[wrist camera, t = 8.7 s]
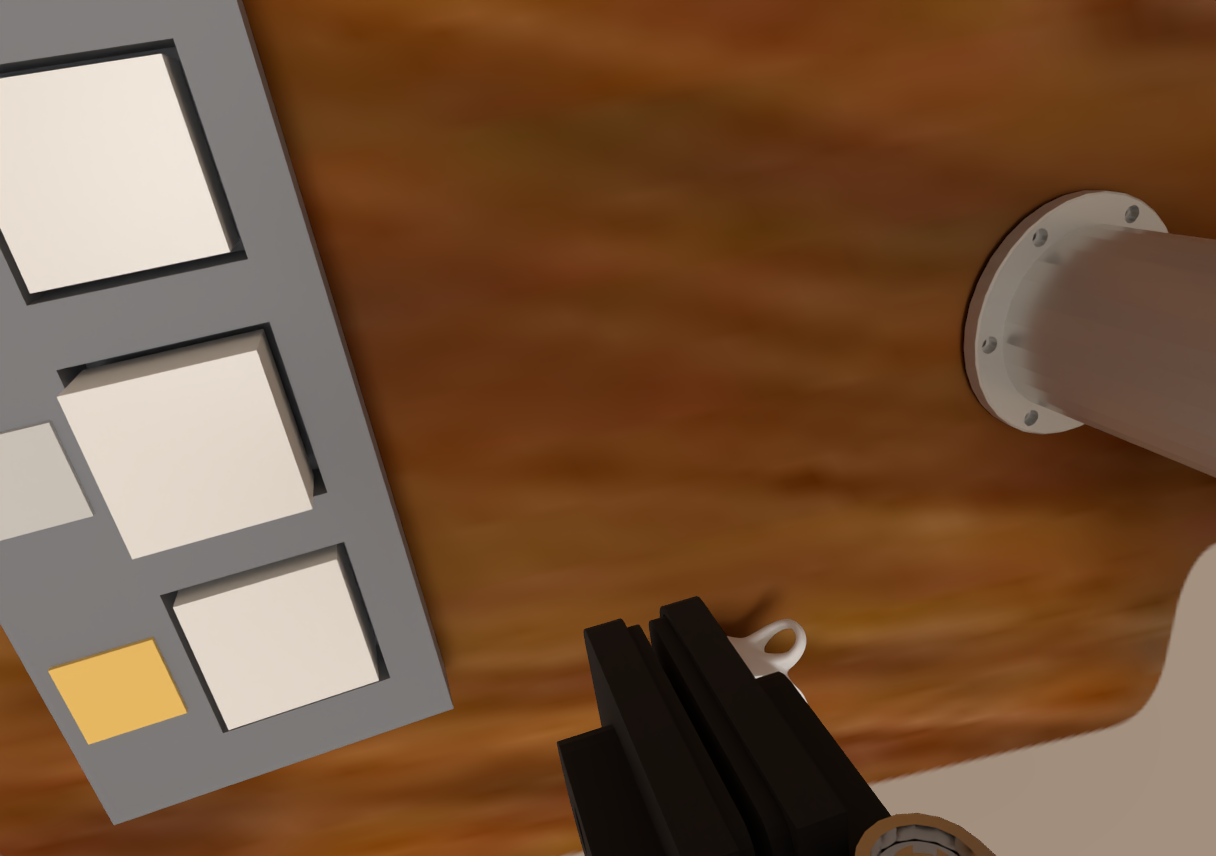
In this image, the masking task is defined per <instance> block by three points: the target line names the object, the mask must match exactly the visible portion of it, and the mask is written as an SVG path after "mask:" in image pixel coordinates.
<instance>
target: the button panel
mask: <svg viewBox="0 0 1216 856" xmlns="http://www.w3.org/2000/svg"><path fill="white" fill-rule="evenodd" d="M155 54H164V55H166V56H169V57H172V58H175V59H177V60H178V62H179V65H180V68H181V70H182V73H183V76H184V79H185V82H186V85H187V88H188V91H189V94H190V97H191V100H192V103H193V106H194V109H195V112H196V114H197V117H198V120H199V123H200V126H201V129H202V132H203V135H204V138H205V141H206V144H207V147H208V150H209V153H210V156H211V158H212V161H213V164H214V167H215V170H216V173H217V176H218V179H219V182H220V185H221V188H222V191H223V194H224V197H225V200H226V202H227V205H228V208H229V211H230V214H231V217H232V220H233V223H234V226H235V229H236V232H237V235H238V238H239V241H238V242H237V243H236V245H235V246H234V248H233V249H232V250H231V252H228V253H224V254H219V255H214V256H209V257H204V258H199V259H195V260H190V261H185V262H180V263H175V264H171V265H166V266H161V267H156V268H151V269H146V270H142V271H137V272H132V273H127V274H122V275H118V276H113V277H108V278H103V279H98V280H93V281H89V282H84V283H79V284H74V285H69V286H65V287H60V288H55V289H50V290H45V291H40V292H36V293H31V294H30V292H29V290H28V288H27V286H26V284H25V281H24V279H23V277H22V275H21V273H20V270H19V268H18V266H17V264H16V262H15V259H14V257H13V255H12V253H11V251H10V248H9V246H8V244H7V242H6V240H5V237H4V235H3V233H2V231H1V229H0V624H1V626H2V627H3V629H4V631H5V633H6V634H7V636H8V638H9V640H10V642H11V643H12V645H13V647H14V649H15V650H16V652H17V654H18V656H19V658H20V659H21V661H22V663H23V665H24V666H25V668H26V670H27V672H28V674H29V675H30V677H31V679H32V681H33V682H34V684H35V686H36V688H37V690H38V691H39V693H40V695H41V697H42V698H43V700H44V702H45V704H46V705H47V707H48V709H49V711H50V713H51V714H52V716H53V718H54V720H55V721H56V723H57V725H58V727H59V729H60V730H61V732H62V734H63V736H64V737H65V739H66V741H67V743H68V745H69V746H70V748H71V750H72V752H73V753H74V755H75V757H76V759H77V761H78V762H79V764H80V766H81V768H82V769H83V771H84V773H85V775H86V777H87V778H88V780H89V782H90V784H91V785H92V787H93V789H94V791H95V793H96V794H97V796H98V798H99V800H100V801H101V803H102V805H103V807H104V809H105V810H106V812H107V814H108V816H109V817H110V819H111V821H112V823H113V825H116V824H119V823H122V822H125V821H128V820H130V819H133V818H136V817H139V816H142V815H145V814H148V813H151V812H154V811H157V810H160V809H163V808H165V807H168V806H171V805H174V804H177V803H180V802H183V801H186V800H189V799H192V798H195V797H197V796H200V795H203V794H206V793H209V792H212V791H215V790H218V789H221V788H224V787H227V786H229V785H232V784H235V783H238V782H241V781H244V780H247V779H250V778H253V777H256V776H259V775H261V774H264V773H267V772H270V771H273V770H276V769H279V768H282V767H285V766H288V765H291V764H293V763H296V762H299V761H302V760H305V759H308V758H311V757H314V756H317V755H320V754H323V753H325V752H328V751H331V750H334V749H337V748H340V747H343V746H346V745H349V744H352V743H355V742H357V741H360V740H363V739H366V738H369V737H372V736H375V735H378V734H381V733H384V732H387V731H389V730H392V729H395V728H398V727H401V726H404V725H407V724H410V723H413V722H416V721H419V720H421V719H424V718H427V717H430V716H433V715H436V714H439V713H442V712H445V711H448V710H451V709H453V704H452V699H451V694H450V689H449V684H448V680H447V675H446V670H445V666H444V663H443V659H442V656H441V653H440V649H439V646H438V643H437V640H436V636H435V633H434V630H433V626H432V623H431V620H430V617H429V613H428V610H427V607H426V603H425V600H424V597H423V594H422V590H421V587H420V584H419V580H418V577H417V574H416V570H415V567H414V564H413V561H412V557H411V554H410V551H409V547H408V544H407V541H406V538H405V534H404V531H403V528H402V524H401V521H400V518H399V515H398V511H397V508H396V505H395V501H394V498H393V495H392V491H391V488H390V485H389V482H388V478H387V475H386V472H385V468H384V465H383V462H382V459H381V455H380V452H379V449H378V445H377V442H376V439H375V436H374V432H373V429H372V426H371V422H370V419H369V416H368V412H367V409H366V406H365V403H364V399H363V396H362V393H361V389H360V386H359V383H358V380H357V376H356V373H355V370H354V366H353V363H352V360H351V357H350V353H349V350H348V347H347V343H346V340H345V337H344V333H343V330H342V327H341V324H340V320H339V317H338V314H337V310H336V307H335V304H334V301H333V297H332V294H331V291H330V287H329V284H328V281H327V278H326V274H325V271H324V268H323V264H322V261H321V258H320V254H319V251H318V248H317V245H316V241H315V238H314V235H313V231H312V228H311V225H310V222H309V218H308V215H307V212H306V208H305V205H304V202H303V199H302V195H301V192H300V189H299V185H298V182H297V179H296V175H295V172H294V169H293V166H292V162H291V159H290V156H289V152H288V149H287V146H286V143H285V139H284V136H283V133H282V129H281V126H280V123H279V120H278V116H277V113H276V110H275V106H274V103H273V100H272V96H271V93H270V90H269V87H268V83H267V80H266V77H265V73H264V70H263V67H262V64H261V60H260V57H259V54H258V50H257V47H256V44H255V41H254V37H253V34H252V31H251V27H250V24H249V21H248V17H247V14H246V11H245V8H244V4H243V1H242V0H0V78H6V77H13V76H19V75H26V74H32V73H39V72H45V71H52V70H58V69H65V68H71V67H77V66H84V65H90V64H97V63H103V62H110V61H116V60H123V59H129V58H136V57H142V56H149V55H155ZM260 329H264V332H265V335H266V338H267V341H268V344H269V347H270V350H271V352H272V355H273V358H274V361H275V364H276V367H277V370H278V373H279V376H280V379H281V382H282V384H283V387H284V390H285V393H286V396H287V399H288V402H289V405H290V408H291V411H292V413H293V416H294V419H295V422H296V425H297V428H298V431H299V434H300V437H301V440H302V443H303V445H304V448H305V451H306V454H307V457H308V460H309V463H310V466H311V469H312V472H313V475H314V488H313V509H311V510H308V511H304V512H301V513H297V514H293V515H290V516H286V517H283V518H279V519H276V520H272V521H268V522H265V523H261V524H258V525H254V526H250V527H247V528H243V529H240V530H236V531H233V532H229V533H225V534H222V535H218V536H215V537H211V538H207V539H204V540H200V541H197V542H193V543H190V544H186V545H182V546H179V547H175V548H172V549H168V550H164V551H161V552H157V553H154V554H150V555H147V556H143V557H139V558H136V559H132V558H131V556H130V553H129V551H128V549H127V547H126V545H125V543H124V541H123V538H122V536H121V534H120V532H119V530H118V528H117V526H116V523H115V521H114V519H113V517H112V515H111V513H110V511H109V508H108V506H107V504H106V502H105V500H104V498H103V495H102V493H101V491H100V489H99V487H98V485H97V483H96V480H95V478H94V476H93V474H92V472H91V470H90V468H89V465H88V463H87V461H86V459H85V457H84V455H83V453H82V450H81V448H80V446H79V444H78V442H77V440H76V437H75V435H74V433H73V431H72V429H71V427H70V425H69V422H68V420H67V418H66V416H65V414H64V412H63V410H62V407H61V405H60V403H59V401H58V399H57V396H58V395H59V394H60V393H61V392H62V391H63V390H64V389H65V388H66V387H67V386H68V385H69V384H70V383H71V382H72V381H73V380H74V379H75V378H76V376H77V375H78V374H79V373H80V372H81V371H82V370H86V369H90V368H94V367H99V366H103V365H107V364H112V363H116V362H120V361H125V360H129V359H134V358H138V357H142V356H147V355H151V354H155V353H160V352H164V351H169V350H173V349H177V348H182V347H186V346H190V345H195V344H199V343H203V342H208V341H212V340H217V339H221V338H225V337H230V336H234V335H238V334H243V333H247V332H251V331H256V330H260ZM339 543H343V546H344V549H345V552H346V555H347V557H348V560H349V563H350V566H351V569H352V572H353V575H354V578H355V581H356V584H357V587H358V590H359V593H360V596H361V599H362V602H363V604H364V607H365V610H366V613H367V616H368V619H369V622H370V625H371V628H372V631H373V634H374V637H375V640H376V652H377V663H378V675H379V681H376V682H373V683H370V684H367V685H364V686H361V687H358V688H355V689H352V690H349V691H346V692H343V693H340V694H337V695H334V696H331V697H328V698H325V699H322V700H319V701H316V702H313V703H310V704H307V705H303V706H300V707H297V708H294V709H291V710H288V711H285V712H282V713H279V714H276V715H273V716H270V717H267V718H264V719H261V720H258V721H255V722H252V723H249V724H246V725H243V726H240V727H237V728H234V729H231V730H228V728H227V725H226V723H225V721H224V719H223V717H222V714H221V712H220V710H219V708H218V706H217V703H216V701H215V699H214V697H213V695H212V693H211V690H210V688H209V686H208V684H207V682H206V679H205V677H204V675H203V673H202V671H201V668H200V666H199V664H198V662H197V660H196V657H195V655H194V653H193V651H192V649H191V646H190V644H189V642H188V640H187V638H186V635H185V633H184V631H183V629H182V627H181V624H180V622H179V620H178V618H177V616H176V613H175V611H174V609H173V606H174V602H175V599H176V596H177V593H178V590H180V589H183V588H187V587H190V586H194V585H197V584H201V583H204V582H208V581H211V580H214V579H218V578H221V577H225V576H228V575H232V574H235V573H239V572H242V571H246V570H249V569H252V568H256V567H259V566H263V565H266V564H270V563H273V562H277V561H280V560H283V559H287V558H290V557H294V556H297V555H301V554H304V553H308V552H311V551H314V550H318V549H321V548H325V547H328V546H332V545H335V544H339Z"/></svg>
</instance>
